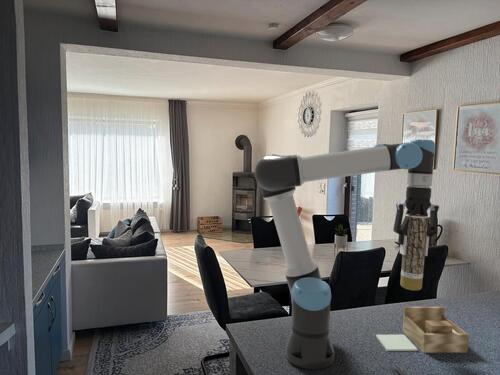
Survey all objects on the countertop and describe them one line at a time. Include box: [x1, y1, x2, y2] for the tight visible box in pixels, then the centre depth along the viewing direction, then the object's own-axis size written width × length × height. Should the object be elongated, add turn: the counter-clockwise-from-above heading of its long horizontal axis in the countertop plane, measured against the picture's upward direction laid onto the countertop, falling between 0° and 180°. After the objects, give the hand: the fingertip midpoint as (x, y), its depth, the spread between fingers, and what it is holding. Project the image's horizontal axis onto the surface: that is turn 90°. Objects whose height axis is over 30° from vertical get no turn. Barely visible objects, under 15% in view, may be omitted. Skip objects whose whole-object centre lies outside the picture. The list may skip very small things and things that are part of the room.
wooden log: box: [399, 213, 429, 291], centre depth 125 cm, size 7×7×25 cm
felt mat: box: [375, 334, 419, 352], centre depth 126 cm, size 10×10×1 cm
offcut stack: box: [425, 321, 457, 333], centre depth 123 cm, size 11×4×8 cm, turn 92°
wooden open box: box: [402, 306, 470, 354], centre depth 128 cm, size 15×15×9 cm
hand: (413, 254), depth 125 cm, fingers closed on wooden log, 7 cm apart
